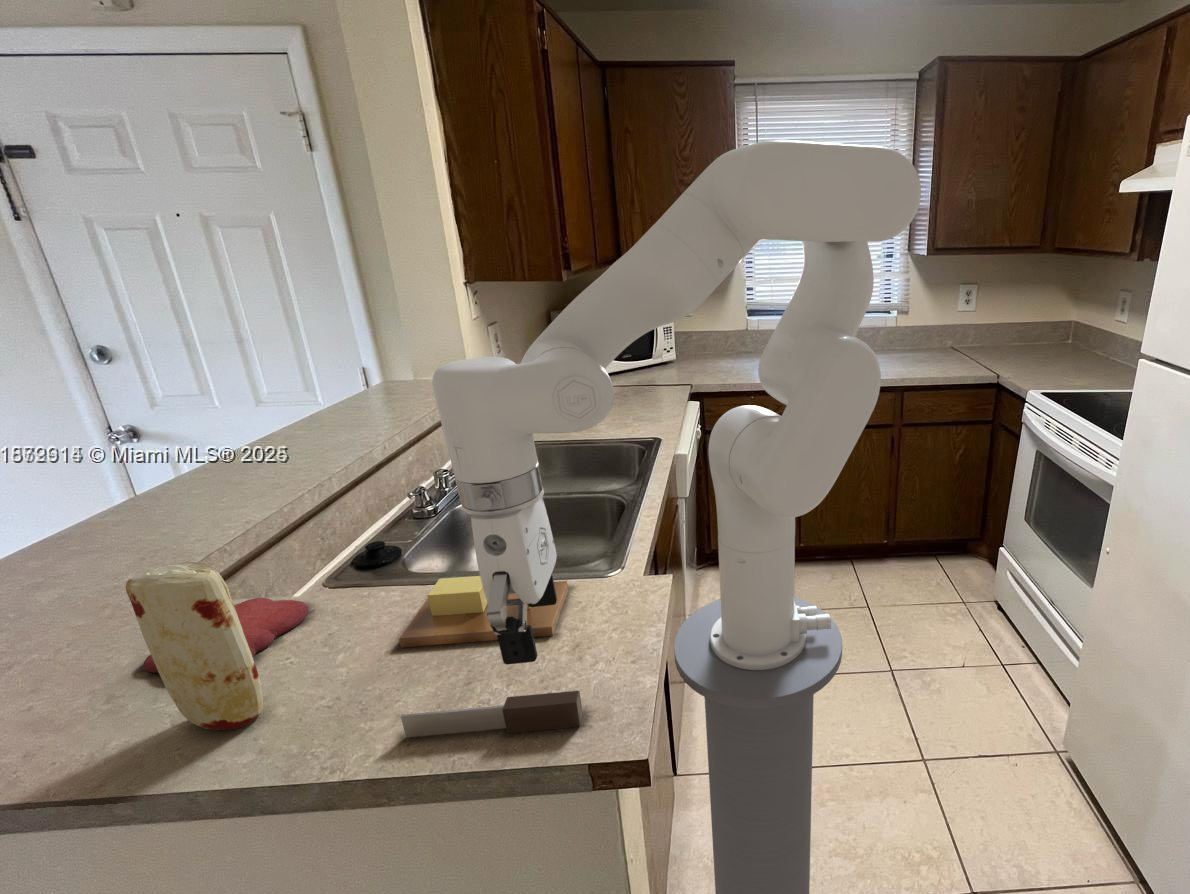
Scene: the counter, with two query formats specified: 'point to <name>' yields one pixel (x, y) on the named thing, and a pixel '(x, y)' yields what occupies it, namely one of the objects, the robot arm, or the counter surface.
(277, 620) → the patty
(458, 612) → the butter
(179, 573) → the food model
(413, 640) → the cutting board
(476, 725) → the knife
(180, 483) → the counter surface
